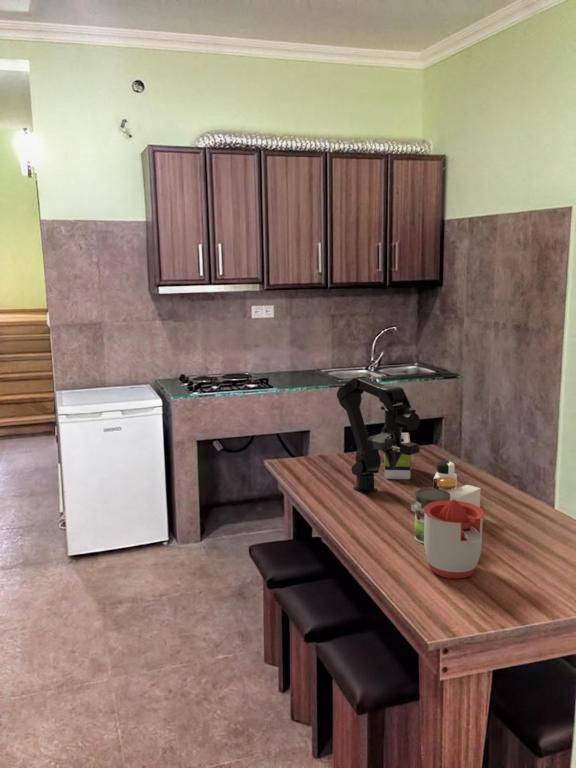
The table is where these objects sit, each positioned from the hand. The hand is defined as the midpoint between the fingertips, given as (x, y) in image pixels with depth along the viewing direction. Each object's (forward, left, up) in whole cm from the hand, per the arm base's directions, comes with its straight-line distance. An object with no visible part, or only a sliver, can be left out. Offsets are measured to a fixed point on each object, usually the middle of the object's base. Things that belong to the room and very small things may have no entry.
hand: (392, 468), depth 230 cm
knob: (+20, +6, -10) cm, 23 cm away
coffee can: (+30, -10, -12) cm, 34 cm away
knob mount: (+18, +6, -12) cm, 23 cm away
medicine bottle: (+5, +20, -12) cm, 24 cm away
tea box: (-23, +22, -12) cm, 34 cm away
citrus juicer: (+49, -20, -12) cm, 54 cm away
